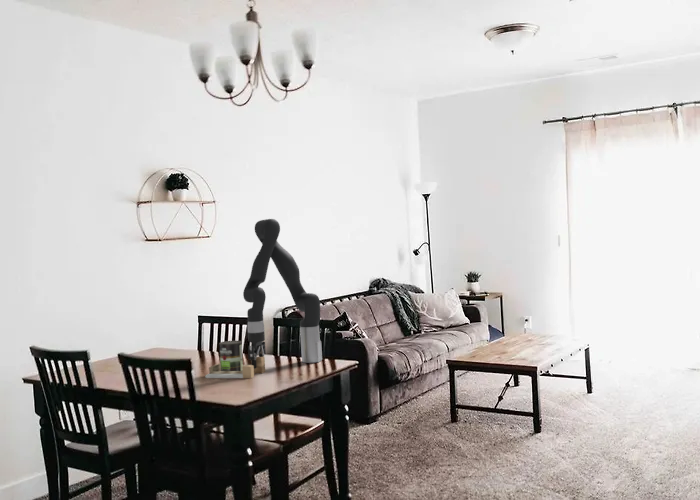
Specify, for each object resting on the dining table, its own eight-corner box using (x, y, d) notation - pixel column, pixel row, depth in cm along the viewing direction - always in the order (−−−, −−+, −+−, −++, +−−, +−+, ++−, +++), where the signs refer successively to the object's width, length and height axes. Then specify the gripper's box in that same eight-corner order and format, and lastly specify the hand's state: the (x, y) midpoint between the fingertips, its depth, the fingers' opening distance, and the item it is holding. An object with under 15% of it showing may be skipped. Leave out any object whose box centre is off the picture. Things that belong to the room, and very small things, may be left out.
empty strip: (254, 376, 295) (253, 365, 295) (251, 378, 292) (250, 366, 292) (209, 376, 301) (208, 365, 301) (205, 377, 297) (205, 366, 297)
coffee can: (234, 375, 300) (232, 344, 299) (216, 374, 304) (214, 343, 304) (248, 371, 309) (246, 340, 309) (230, 370, 314) (228, 340, 313)
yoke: (270, 369, 310) (269, 354, 310) (257, 376, 295) (256, 360, 295) (224, 369, 316) (223, 354, 316) (209, 376, 301) (208, 360, 301)
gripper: (257, 333, 295) (259, 369, 295) (269, 328, 309) (271, 363, 309) (241, 333, 297) (243, 369, 297) (254, 328, 311) (256, 363, 311)
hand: (257, 366), depth 303 cm, fingers open, 8 cm apart
